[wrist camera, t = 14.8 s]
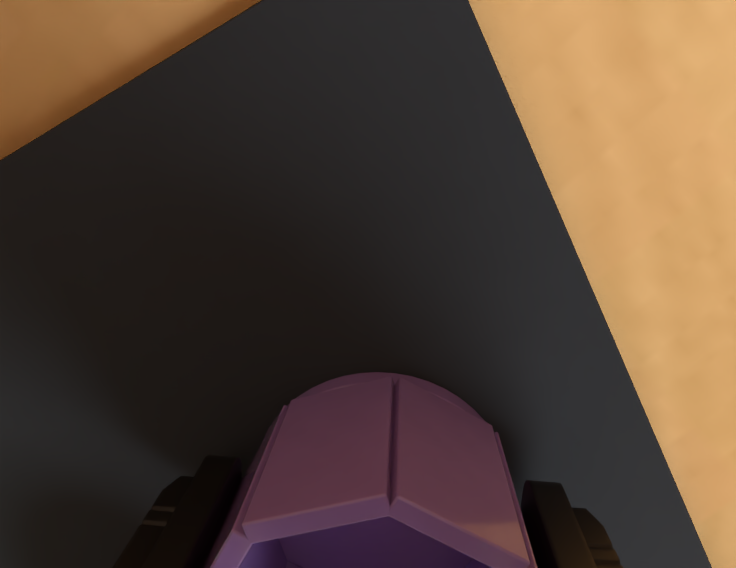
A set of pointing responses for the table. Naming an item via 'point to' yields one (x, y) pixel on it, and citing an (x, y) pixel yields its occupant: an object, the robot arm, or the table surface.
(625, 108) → the table surface
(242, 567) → the dish
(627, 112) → the table surface
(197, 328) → the mat
